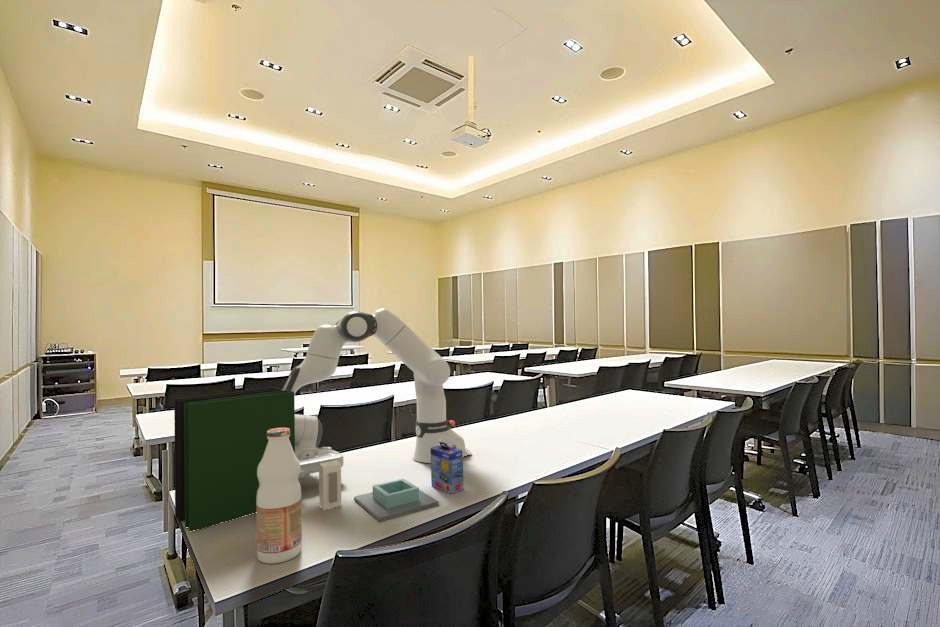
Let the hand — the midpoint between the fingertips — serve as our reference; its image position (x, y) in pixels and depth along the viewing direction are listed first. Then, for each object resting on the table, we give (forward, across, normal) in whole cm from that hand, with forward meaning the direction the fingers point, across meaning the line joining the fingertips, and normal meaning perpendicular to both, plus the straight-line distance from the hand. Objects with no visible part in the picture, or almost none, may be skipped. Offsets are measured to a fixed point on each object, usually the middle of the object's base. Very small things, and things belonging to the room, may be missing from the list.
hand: (317, 471), depth 141 cm
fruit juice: (+32, -18, +7) cm, 37 cm away
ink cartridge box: (+20, +34, +7) cm, 40 cm away
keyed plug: (+12, 0, +6) cm, 14 cm away
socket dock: (+21, +16, +6) cm, 27 cm away
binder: (-2, -22, +7) cm, 23 cm away
